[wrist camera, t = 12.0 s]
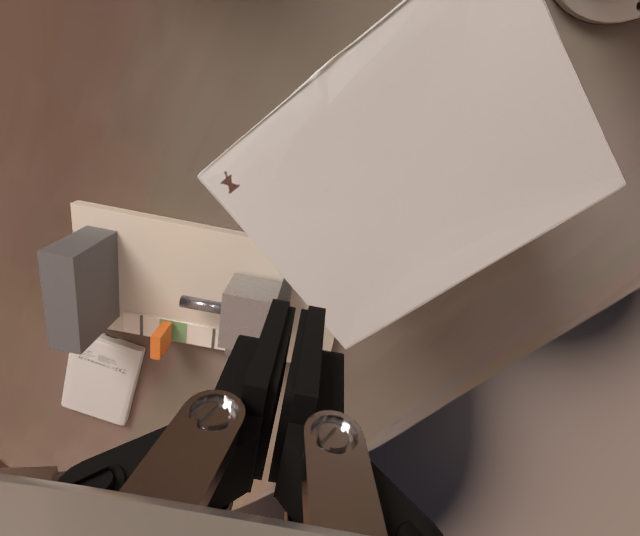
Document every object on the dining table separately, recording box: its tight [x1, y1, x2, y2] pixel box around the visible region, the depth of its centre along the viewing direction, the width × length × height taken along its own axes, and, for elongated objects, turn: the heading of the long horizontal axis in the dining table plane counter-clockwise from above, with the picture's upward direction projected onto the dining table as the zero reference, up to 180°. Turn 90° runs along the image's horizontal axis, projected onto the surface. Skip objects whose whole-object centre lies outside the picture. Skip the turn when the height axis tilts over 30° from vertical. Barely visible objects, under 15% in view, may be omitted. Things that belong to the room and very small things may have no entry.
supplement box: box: [197, 0, 626, 349], centre depth 27 cm, size 17×13×18 cm
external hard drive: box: [61, 333, 146, 425], centre depth 48 cm, size 2×8×12 cm
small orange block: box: [150, 321, 172, 360], centre depth 42 cm, size 1×3×3 cm, turn 169°
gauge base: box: [37, 200, 334, 363], centre depth 39 cm, size 28×14×8 cm, turn 80°
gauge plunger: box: [179, 273, 292, 356], centre depth 39 cm, size 10×10×6 cm
